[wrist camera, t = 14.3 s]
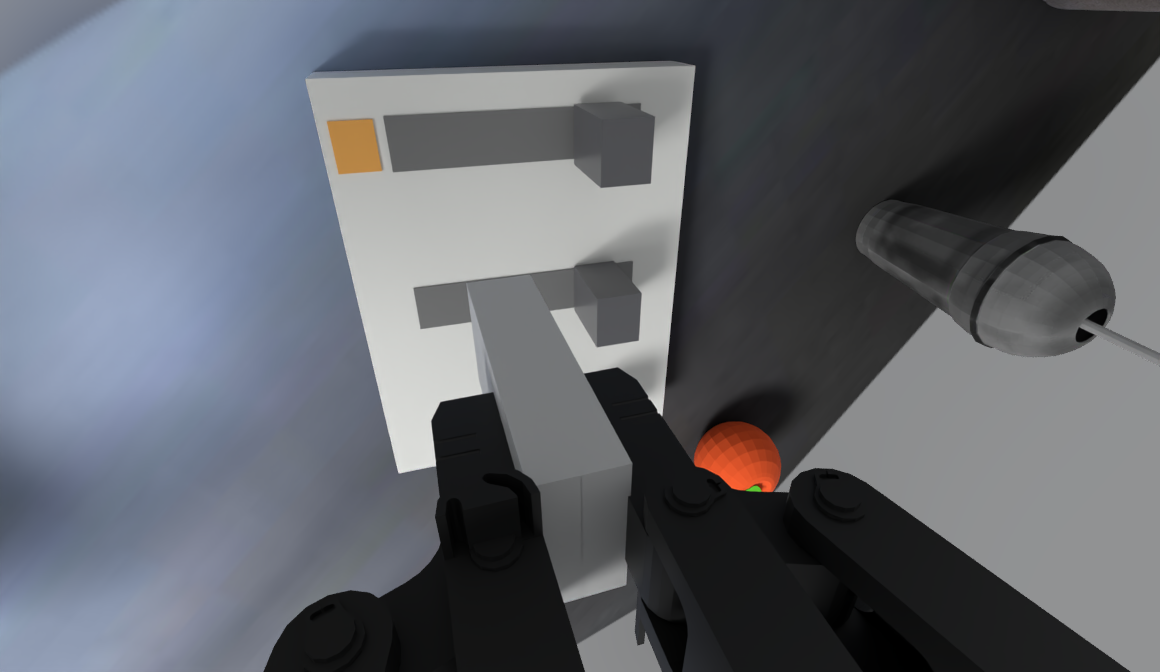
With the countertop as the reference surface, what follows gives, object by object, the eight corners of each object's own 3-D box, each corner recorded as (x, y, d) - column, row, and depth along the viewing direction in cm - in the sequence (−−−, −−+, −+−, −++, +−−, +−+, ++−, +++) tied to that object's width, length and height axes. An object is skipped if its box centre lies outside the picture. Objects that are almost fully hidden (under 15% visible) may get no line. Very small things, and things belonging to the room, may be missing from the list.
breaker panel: (397, 443, 39) (399, 527, 33) (312, 71, 27) (289, 93, 21) (646, 397, 44) (689, 462, 38) (671, 60, 32) (741, 75, 25)
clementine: (672, 480, 50) (709, 543, 44) (665, 424, 46) (705, 485, 40) (751, 451, 51) (798, 508, 45) (751, 394, 47) (802, 449, 42)
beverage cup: (889, 279, 45) (1175, 438, 29) (823, 263, 42) (1098, 430, 26) (940, 193, 42) (1292, 316, 26) (872, 169, 39) (1220, 290, 23)
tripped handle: (574, 164, 29) (600, 187, 26) (573, 103, 28) (602, 119, 24) (618, 161, 30) (650, 183, 26) (620, 101, 28) (655, 116, 25)
